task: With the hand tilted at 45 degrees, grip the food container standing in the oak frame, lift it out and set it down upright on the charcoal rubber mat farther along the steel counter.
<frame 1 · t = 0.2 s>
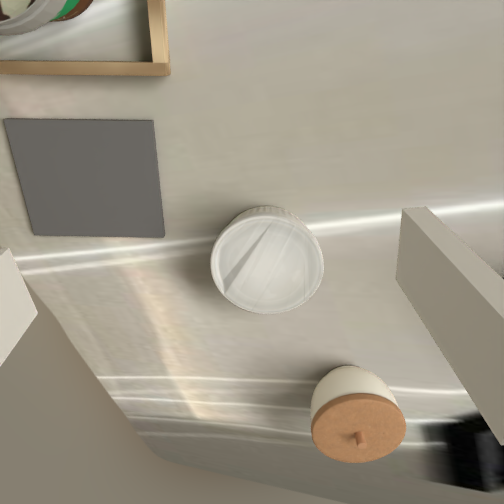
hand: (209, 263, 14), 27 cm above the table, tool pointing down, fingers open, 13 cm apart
lidded jar: (346, 381, 53), on the table
ramekin: (266, 243, 44), on the table
charcoal mat: (91, 180, 41), on the table
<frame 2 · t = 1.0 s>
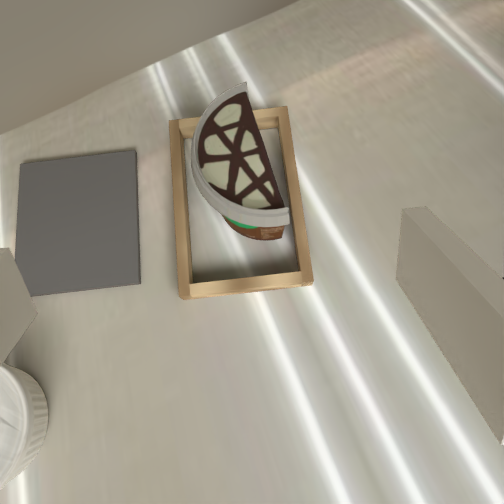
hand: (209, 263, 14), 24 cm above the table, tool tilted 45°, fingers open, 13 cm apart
ramekin: (1, 422, 36), on the table
charcoal mat: (79, 222, 40), on the table
food container: (238, 204, 40), resting in oak frame
oak frame: (238, 203, 40), on the table
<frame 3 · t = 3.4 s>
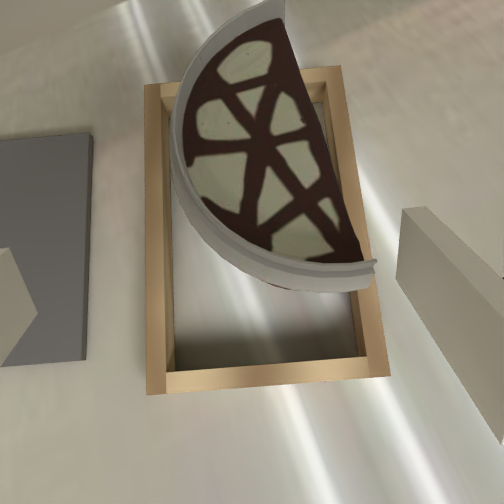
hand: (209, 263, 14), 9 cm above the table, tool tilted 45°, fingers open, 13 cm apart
food container: (254, 226, 24), resting in oak frame
oak frame: (254, 225, 24), on the table
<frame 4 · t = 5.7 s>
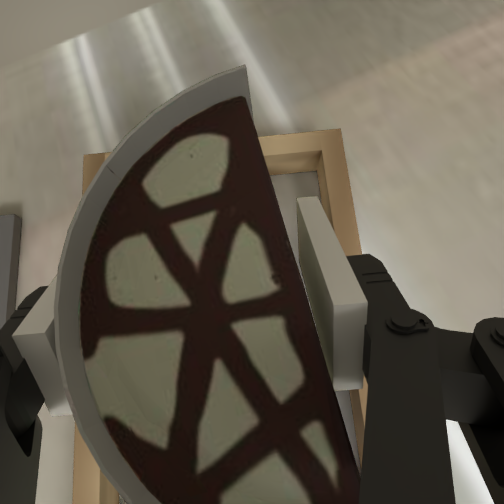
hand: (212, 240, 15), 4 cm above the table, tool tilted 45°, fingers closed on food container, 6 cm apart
food container: (229, 342, 18), resting in oak frame, touching gripper
oak frame: (229, 341, 18), on the table
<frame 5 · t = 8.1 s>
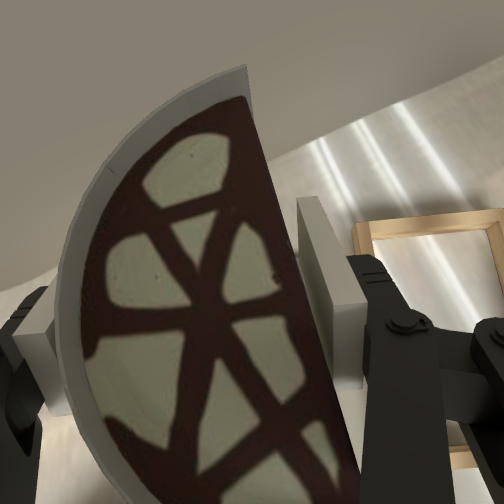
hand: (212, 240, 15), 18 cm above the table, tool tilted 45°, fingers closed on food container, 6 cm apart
food container: (229, 342, 18), point 14 cm above the table, touching gripper
oak frame: (446, 332, 31), on the table
when the fingers open (6 cm above the table, at t = 10.7 s): food container drops 2 cm, resting on charcoal mat.
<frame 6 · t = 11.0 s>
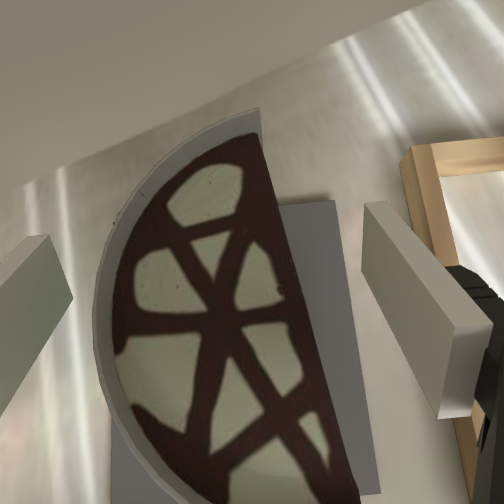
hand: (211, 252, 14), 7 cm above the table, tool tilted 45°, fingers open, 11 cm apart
charcoal mat: (234, 344, 20), on the table
food container: (231, 348, 20), point 1 cm above the table, touching charcoal mat
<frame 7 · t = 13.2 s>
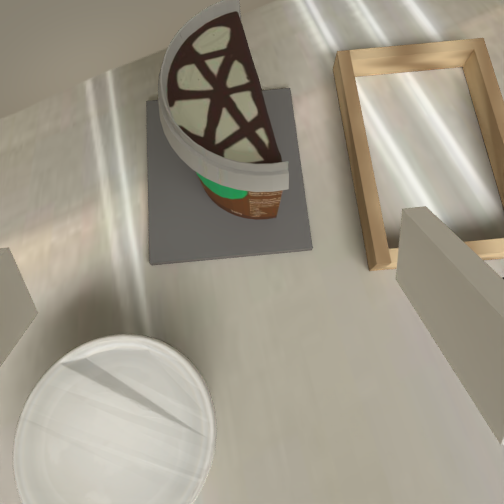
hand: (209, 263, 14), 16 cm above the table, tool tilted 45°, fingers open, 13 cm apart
ramekin: (141, 424, 27), on the table
charcoal mat: (224, 173, 32), on the table
food container: (223, 173, 32), resting on charcoal mat
oak frame: (424, 155, 32), on the table
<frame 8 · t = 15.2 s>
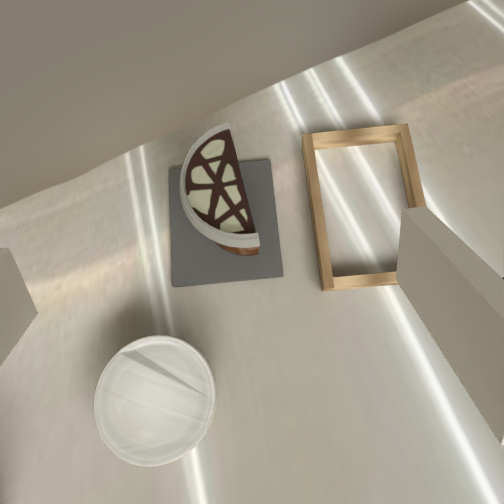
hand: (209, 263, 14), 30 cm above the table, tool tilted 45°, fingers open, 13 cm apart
ramekin: (168, 393, 41), on the table
charcoal mat: (223, 222, 46), on the table
food container: (222, 222, 45), resting on charcoal mat
oak frame: (364, 208, 45), on the table
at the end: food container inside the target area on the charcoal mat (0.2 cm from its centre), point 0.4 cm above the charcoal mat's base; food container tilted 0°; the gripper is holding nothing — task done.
